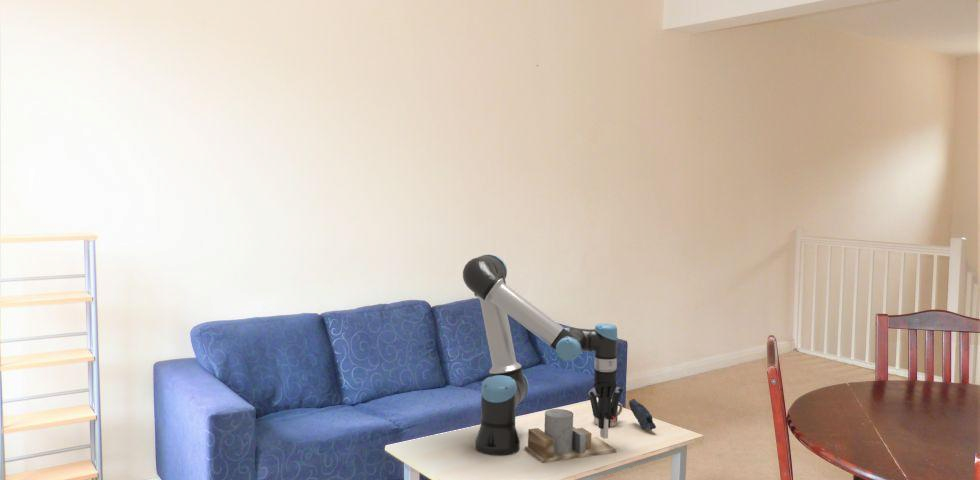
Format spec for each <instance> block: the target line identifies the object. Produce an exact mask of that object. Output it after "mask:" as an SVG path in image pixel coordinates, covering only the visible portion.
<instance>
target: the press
mask: <svg viewBox="0 0 980 480" xmlns="http://www.w3.org/2000/svg"><path fill="white" fill-rule="evenodd" d="M527 431H528V434H527V445H525V446H524V450H525V451H526V452H527V453H529V454H530V455H531V456H532V457H534V458H535V459H536V460H538V461H539V462H540V463H550V462H557V461H563V460H570V459H571V460H572V459H578V458H585V457H592V456H593V457H594V456H598V455H599V456H601V455H605V454H606V455H607V454H614V453H617V449H616V448H615V447H613V446H612V445H610V444H609V443H607V442H606V441H604V440H602V439H600V438H599V437H598V436H594V437H591V448H586V449H585V452H583V453H579V452H578V451H576V450H575V449H573V448H572V452H570V453H568V454H554V444H555V439H553V438H552V437H550V436H549V435H547V434H546V433H545V431H543V430H542V429H540V428H539V427H535V428H529V429H527Z"/></svg>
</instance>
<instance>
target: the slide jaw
mask: <svg viewBox="0 0 980 480" xmlns="http://www.w3.org/2000/svg"><path fill="white" fill-rule="evenodd" d="M591 438H592V433H591V432H590V431H588V430H587V429H585V428H584V427H579V428H578V427H577V428H576V427H575V426H573V439H572V448H573V449H575V450H576V451H578V452H579V453H583V452H585V449H586V448H591Z"/></svg>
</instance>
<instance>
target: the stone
mask: <svg viewBox="0 0 980 480" xmlns="http://www.w3.org/2000/svg"><path fill="white" fill-rule="evenodd" d="M628 401H629V402H628V405H629V408H630V410H631V412H632V414H633V416H634V417H635V419H636V420H637V422H638V424H639V426H640V428H641V429H642V430H645V429H646V430H649V431H652V430H654V429H656V428H657V426H656V425H655V423H654V421H653V416H652V414H651V413H650V411H649V410H648V408H647V407H646V406H644V405H643V404H642V403H640V402H638V401H637V400H636V399H635V398H633V399H630V400H628Z"/></svg>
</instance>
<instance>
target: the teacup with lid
mask: <svg viewBox="0 0 980 480" xmlns="http://www.w3.org/2000/svg"><path fill="white" fill-rule="evenodd" d="M612 398H613V396H612ZM596 399H597V404H598V396H597V397H596ZM611 402H612V401H611ZM618 409H619V410H618ZM622 412H623V404H622V403H620V402H619V403H618V407H617V412H616V416H615V417H612V419H611V420H610V428H612V427H616V426H617V425H618V416H619V415H621V413H622ZM593 423H594V424H595V425H596V426H598V427H599V419H598V418H596V417H594V416H593Z"/></svg>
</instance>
